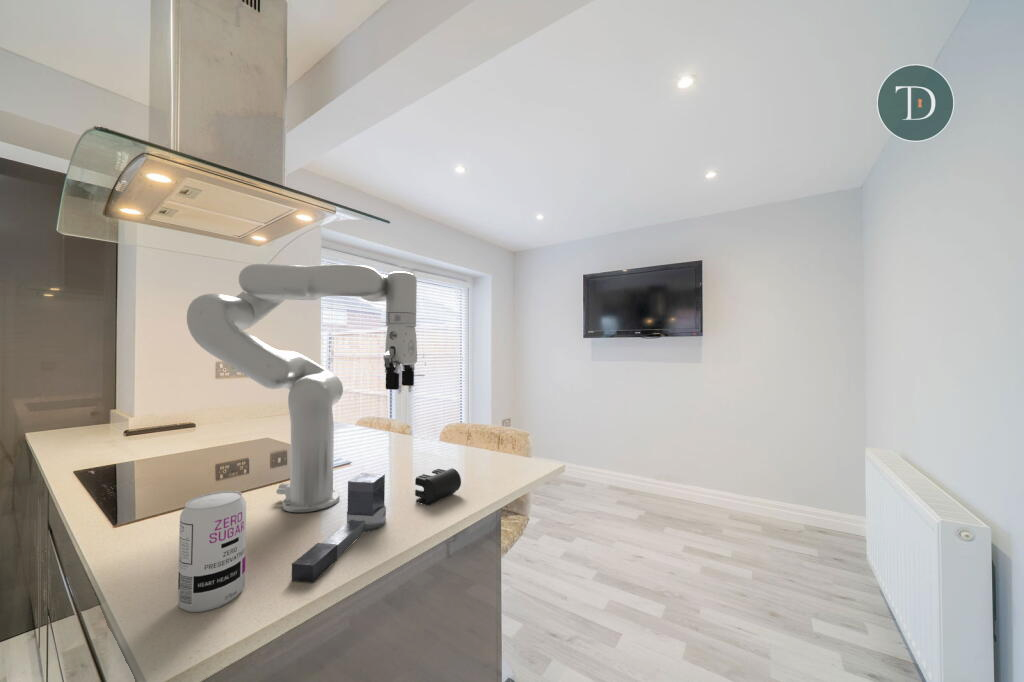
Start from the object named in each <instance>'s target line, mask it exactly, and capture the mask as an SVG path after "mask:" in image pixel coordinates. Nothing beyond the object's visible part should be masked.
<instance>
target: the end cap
mask: <svg viewBox="0 0 1024 682" xmlns="http://www.w3.org/2000/svg"><path fill="white" fill-rule="evenodd" d="M431 474H434V475H429V474H424V473H422V475H419V476H416V477H415V479H414V480H415V483H414V484H415V486H419V487H422V488H423V490H420V489H417V488H416V489H415V490H414V496H415V497H417V498H416V499H415V502H416V503H417V502H419V503H418V504H421V503H422V504H421V505H424V504H425V506H430V505H433V504H435V503H437V502H439V501H441V500H443V499H445V498H447V497H449V496H451V495H454V494H455V493H456V492H457V491H459V489H460V488H461V486H462V478H461V475H460V473H459V471H457V469H455V468H453V467H452V468H449V469H447V470H445V469H442V468H441V469H440V468H436V469H434V470H432V471H431Z"/></svg>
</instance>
